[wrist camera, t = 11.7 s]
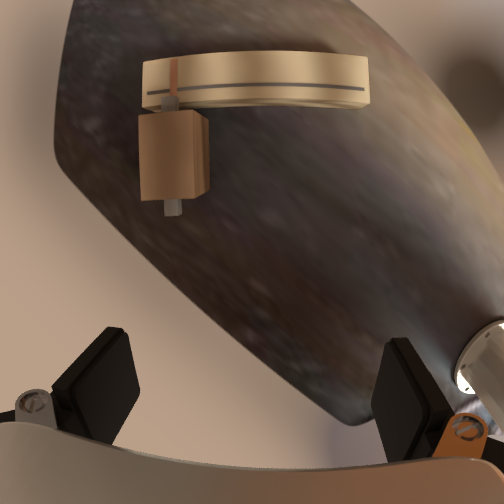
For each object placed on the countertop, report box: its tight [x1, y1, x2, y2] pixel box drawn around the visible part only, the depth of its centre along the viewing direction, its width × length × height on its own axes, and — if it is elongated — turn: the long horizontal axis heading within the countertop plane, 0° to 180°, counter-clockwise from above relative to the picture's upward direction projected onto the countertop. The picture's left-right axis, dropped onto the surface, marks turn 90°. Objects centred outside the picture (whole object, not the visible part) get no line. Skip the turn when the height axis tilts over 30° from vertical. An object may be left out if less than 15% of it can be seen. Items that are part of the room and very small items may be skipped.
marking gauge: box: [139, 95, 210, 216], centre depth 27 cm, size 4×10×7 cm, turn 1°
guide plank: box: [142, 51, 370, 113], centre depth 26 cm, size 20×4×4 cm, turn 91°
